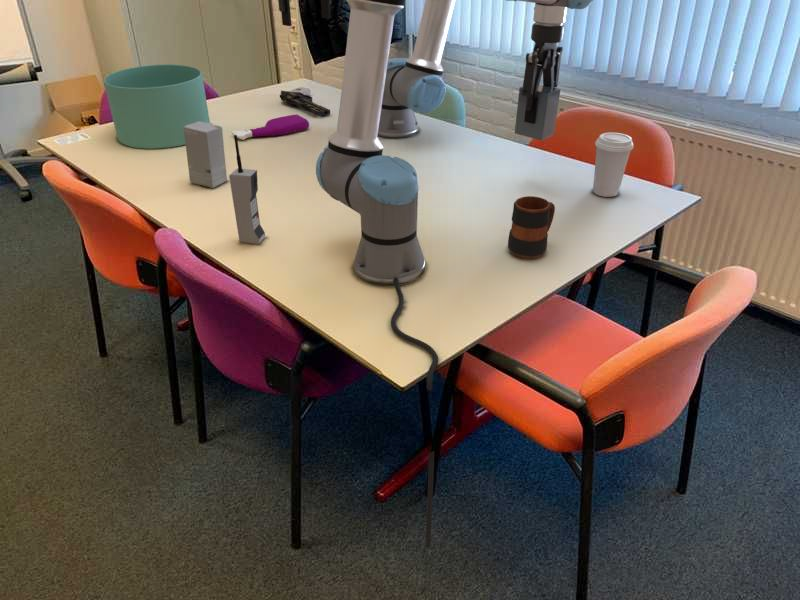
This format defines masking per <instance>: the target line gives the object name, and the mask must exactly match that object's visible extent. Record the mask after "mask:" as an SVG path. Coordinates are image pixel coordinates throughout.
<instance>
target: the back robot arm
mask: <svg viewBox="0 0 800 600" xmlns="http://www.w3.org/2000/svg"><path fill="white" fill-rule="evenodd" d="M277 1H278V2H277V3H278V11H279V12H280V13H281V14H280V15H281V23H282V24H281V25H282V26H286V27H292V13H291V4H290V3H291V2H290V0H277ZM456 1H457V0H424V4H423V10H422V14H421V17H420V22H419V26H418V31H417V35H416V39H415V40H416V41H415V44H414V48H413V52H412V55H411V56H410V57H393V58H388V65H387V72H386V79H385V86H384V93H383V100H382V107H381V115H380V122H379V129H378V136H379V137H383V138H389V139H403V138H408V137H412V136H415V135H416V134H417V133H419V122H418V120H417V117H416V112H418V113H420V114H428V113H431V112H433V111H434V110H436V109H438V108H439V107H440V106H441V104H442V103H443V101H444V99H445V96H446V92H447V90H446V89H447V88H446V87H447V86H446V84H445V82H444V80H443V74H444V67H443V65H442V63H441V62H442V57H443V53H444V49H445V46H446V41H447V37H448V33H449V29H450V25H451V22H452V18H453V13H454V9H455V6H456ZM331 5H332V0H320V10H321V11H320V12H321V19H325V20H331V17H332V16H331ZM378 136H377V137H378Z"/></svg>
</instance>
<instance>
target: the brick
mask: <svg viewBox="0 0 800 600" xmlns="http://www.w3.org/2000/svg"><path fill="white" fill-rule="evenodd" d="M522 89H523V85H522V86H519V89H518V97H517V107H516V116H515V126H514V134H515V135H520V136H523V137H527V138H531V139H535V140H538V141H544V140H547V139H548V138H551V137H554V135H555V130H556V124H557V117H558V109H559V104H560V103H559V102H560V97H561V96H560V94H561V88H558V87H549V86H544V85H543V84H539V88H538V91H537V95H536V97H538V102H537V110H536V118H535V123H534V124H531V123H527V122H524V118H525V110H526V101H527V96H523V95H522Z"/></svg>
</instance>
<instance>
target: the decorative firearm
mask: <svg viewBox="0 0 800 600" xmlns="http://www.w3.org/2000/svg"><path fill="white" fill-rule="evenodd" d="M279 99H280V100H281V101H283V102H286V103H287V104H289V105H291V106H293V107H299V108H301V109H303V110H305V111H307V112H308V113H312V114H314V115H316V116H324V117H327V116H330V115H331V109H329V108H327V107H324V106H322V105H319V104H318V103H315V102H314V101H313V97H312V96H311V89H310V88H307V87H303V86H300V87H296V88H293V89H291V90H282V89H281V90H280V94H279Z"/></svg>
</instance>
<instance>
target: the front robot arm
mask: <svg viewBox="0 0 800 600" xmlns="http://www.w3.org/2000/svg"><path fill="white" fill-rule="evenodd" d="M345 1H346V3H347V4H348V5H349V8H350V12H349V21H348V28H347V29H348V30H347V38H346V46H345V56H344V66H343V73H342V74H343V75H342V84H341V90H340V99H339V100H340V101H339V110H338V119H337V127H336V131H335V132H334V133H333V134H331V135H330V136H329V137H328V144H327V145H326V146H325V147H324V148H323V151H322V152H320V153H319V155H318V157H317V160H316V164H315V175H316V179H317V182H318V184H319V186H320V187H321V189H322V190H323V191H324V192H326V193H327V195H329V196H330V198H332V199H333V200H335V201H338V202H340V203H341V204H343V205H345V207H348V208H350V209H351V210H352V211H354V212H356V213H358V214H359V215H360V239H359V242H358V247H357V249H356V252H355V256H354V259H353V270H354V273H355V275H356V276H357V277H358V278H359V279H360V280H362V281H364V282H366V283H369V284H370V285H371V284H372V285H376V286H382V287H395V292H396V294H397V297H398V304H397V307H396V309H395V311H394V312H393V314H392V316H391V319H390V327H391V329H392V331H393V332H394V334H395V335H396V336H398V337H399V338H401V339H403V340H404V341H406V342H408V343H410V344H414V345H416V346H418V347H420V348H422V349H423V350H425V351H426V352H428V353H429V354H430V356H431V359H432V362H431V364H430V366H429V368H428V371H427V375H426V390H427V391H432V390H433V381H434V374H435V371H436V369H437V367H438V365H439V356H438V353H437V352H436V351H435V349H434V348H433V347H432V346H431V345H429V344H428V343H426V342H424V341H423V340H420V339H418V338H416V337H414V336H410V335H408V334H406V333H405V332H403V331H402V330H400V328H399V327H398V325H397V319H398V318H399V316H400V314H401V312H402V310H403V308H404V304H405V298H404V297H405V296H404V294H403V291H402V288H401V286H402V285H406V284H410V283H413V282H415V281H417V280H418V279H420V278H421V276H423V274H424V273H425V270H426V260H425V255H424V252H423V250H422V247H421V244H420V241H419V238H418V207H419V206H418V205H419V204H418V202H419V182H418V174H417V171H416V169H415V167H414V166H413V165H412V164H411V163H410V162H409V161H407V160H405V159H403V158H401V157H398V156H393V157H392V156H391V155H383V152H384V151H383V150H384V145H383V143H382V141H380V139H379V138H378V129H379V122H380V115H381V107H382V100H383V93H384V86H385V79H386V72H387V65H388V59H389V57H390V50H391V42H392V35H393V29H394V21H395V17H396V15H397V14H398V13H399V12H400V11H401V10H403V9H404V8H405V7H404V6H405V0H345ZM506 1H507V2H509V1H512V2H518V1H519V2H526V3H534V7H533V18H532V21H533V22H534V23H532V26H531V34H530V39H531V41H533V42H534V47H533V49H532V52H531V53H526V54H525V69H524V76H523V83H522V86H523V89H522V95H523V96H527V101H526V110H525V118H524V122H527V123H531V124H534V123H535V118H536V110H537V102H538V97H536V95H537V91H538V88H539V85H541V84H540V83H541V81H542V85H544V86H549V87H554V88H558V85H559V78H560V69H561V60H562V54H563V50H564V47H563V46H558V43H561V42H562V41H563V37H564V32H565V26H564V23H565V22H566V18H567V11H568V9H570V10H574V9H575V10H584V9H586V8H588V7H589V6H590V5H591V4H592V3H593V1H594V0H506ZM427 468H428V469H427V470H428V471H427V494H426V495H427V496H426V521H425V548H426V549H429V548H431V543H432V541H431V540H432V520H433V519H432V518H433V499H434V498H433V497H434V496H433V495H434V475H435V474H434V473H435V450H433V451H431V452H430V453H428V467H427Z"/></svg>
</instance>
